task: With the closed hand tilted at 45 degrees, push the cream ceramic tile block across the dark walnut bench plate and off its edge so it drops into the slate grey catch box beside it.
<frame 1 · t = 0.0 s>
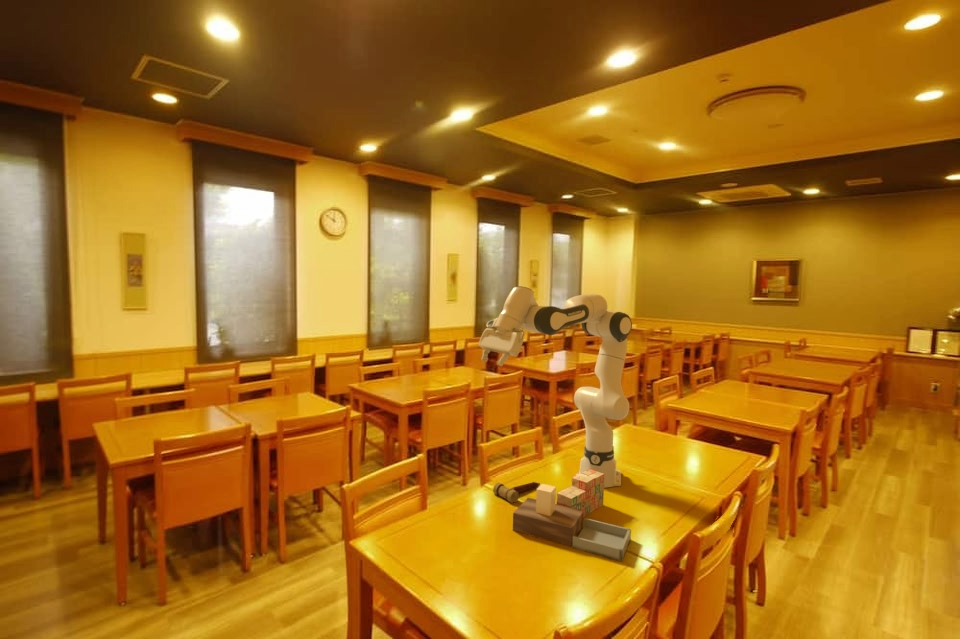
hand: (491, 363, 162), 54 cm above the table, tool tilted 30°, fingers open, 8 cm apart
catch box: (602, 543, 148), on the table
tile block: (545, 511, 157), point 6 cm above the table, touching bench plate
stack of blocks: (580, 512, 170), on the table
bench plate: (548, 529, 157), on the table
gavel: (521, 493, 185), on the table
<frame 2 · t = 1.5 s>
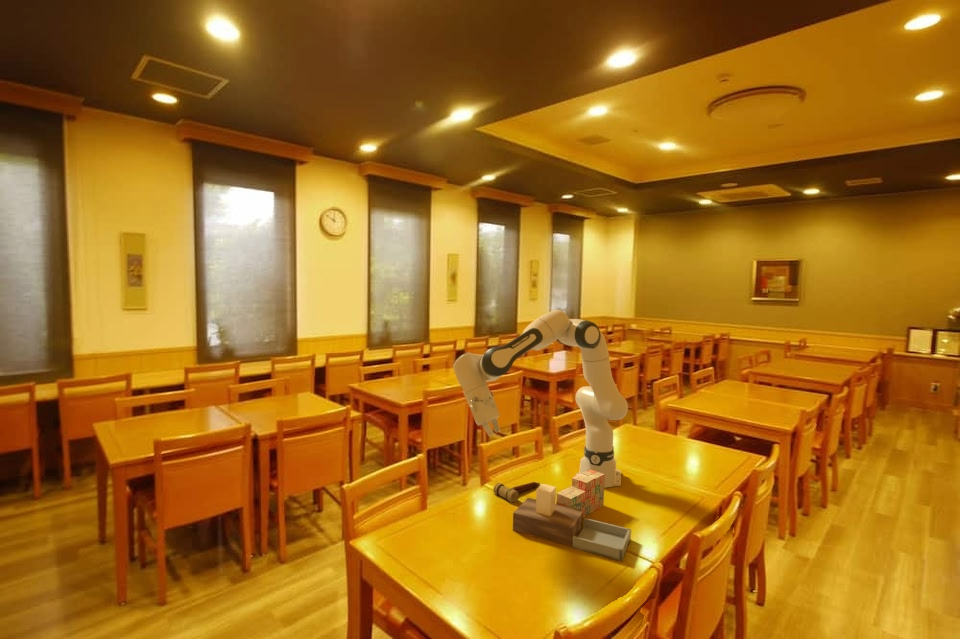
hand: (494, 433, 163), 30 cm above the table, tool tilted 30°, fingers open, 8 cm apart
nothing on the table moved.
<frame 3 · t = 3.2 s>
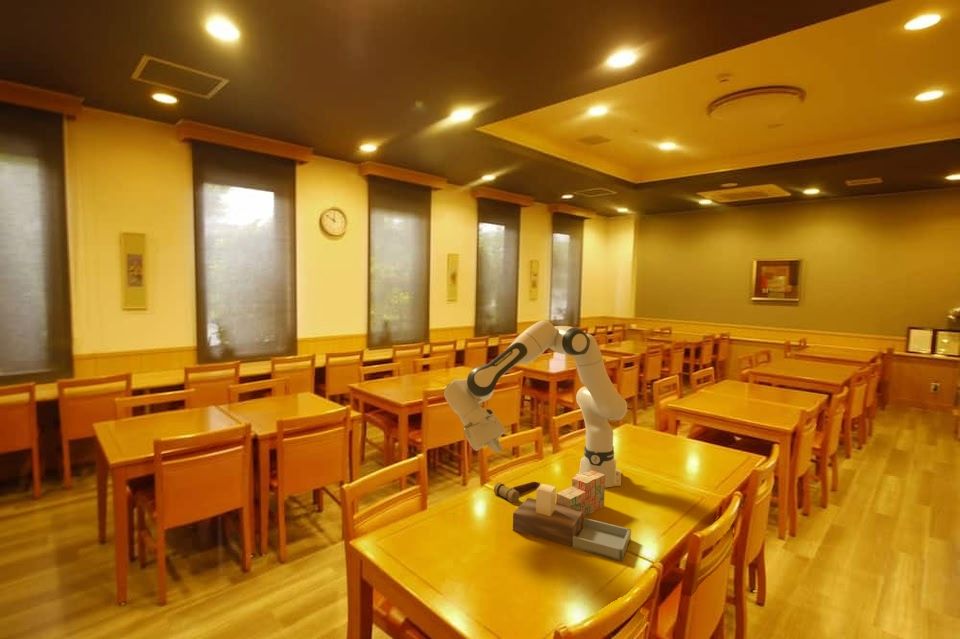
hand: (499, 451, 164), 23 cm above the table, tool tilted 45°, fingers closed
nothing on the table moved.
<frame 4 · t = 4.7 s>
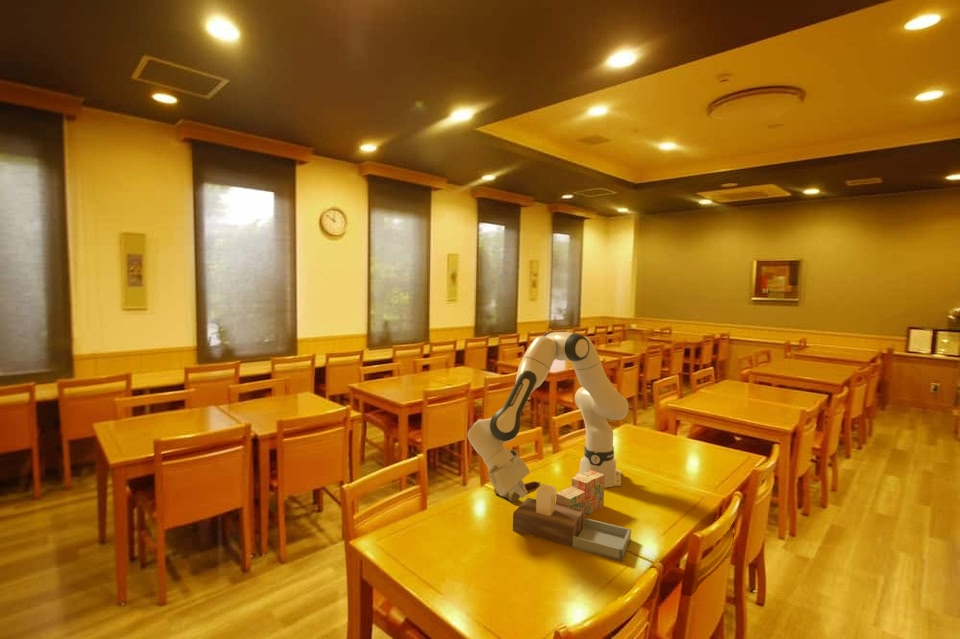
hand: (525, 495, 160), 10 cm above the table, tool tilted 45°, fingers closed
nothing on the table moved.
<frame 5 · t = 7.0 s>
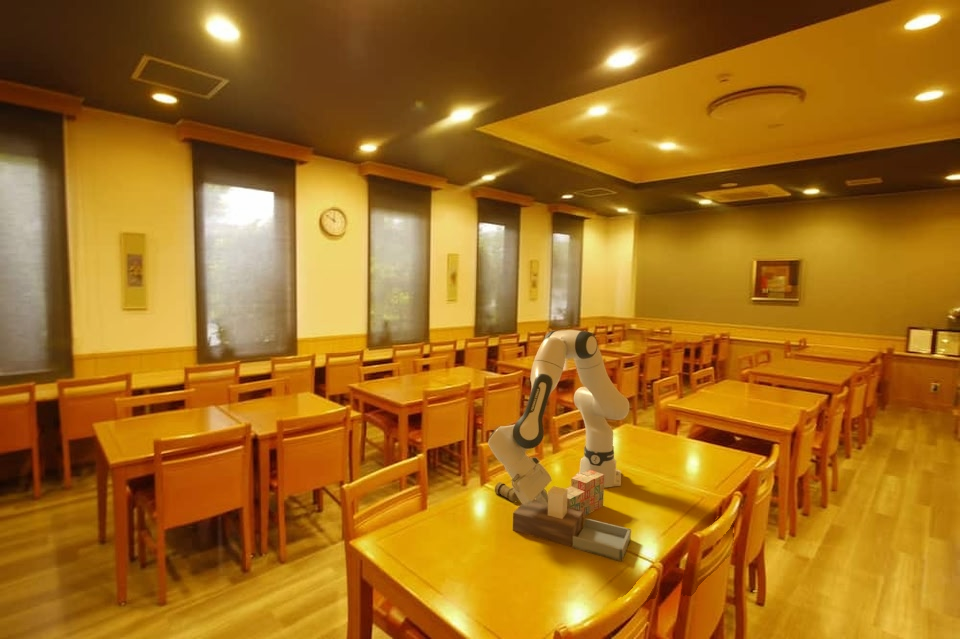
hand: (548, 504, 156), 8 cm above the table, tool tilted 45°, fingers closed, pressing on tile block
tile block: (557, 514, 155), point 6 cm above the table, touching gripper
everything else where it was.
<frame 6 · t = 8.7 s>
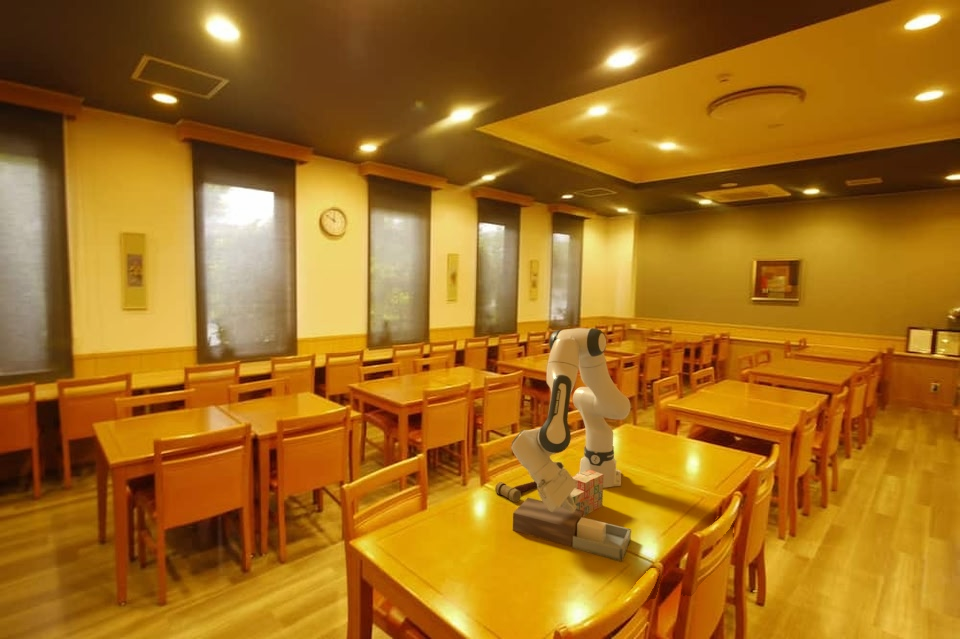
hand: (574, 510, 152), 9 cm above the table, tool tilted 45°, fingers closed
tile block: (579, 527, 152), point 3 cm above the table, tilted 90°, touching catch box
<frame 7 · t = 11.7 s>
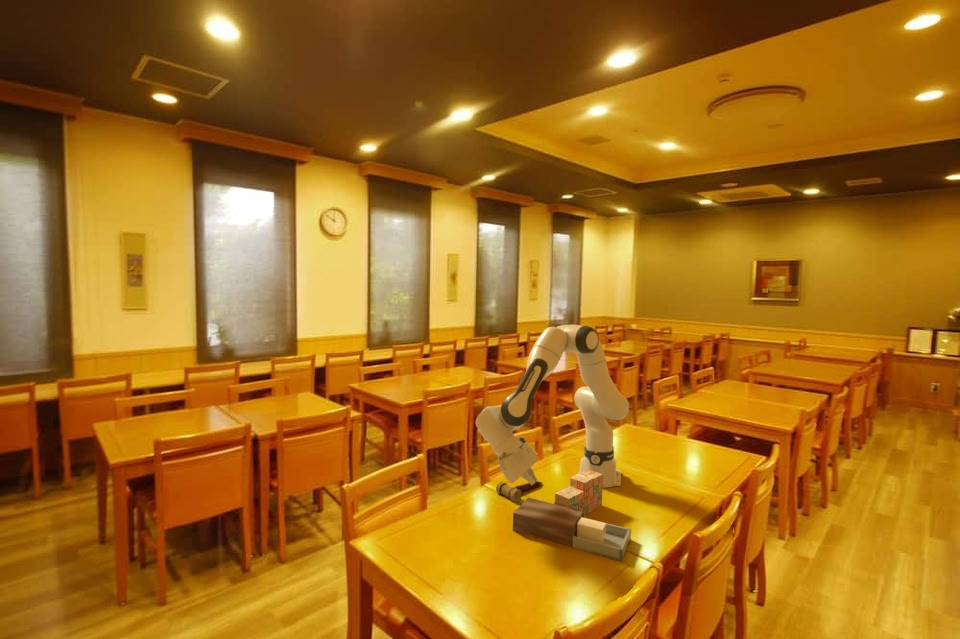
hand: (534, 482, 158), 15 cm above the table, tool tilted 45°, fingers closed
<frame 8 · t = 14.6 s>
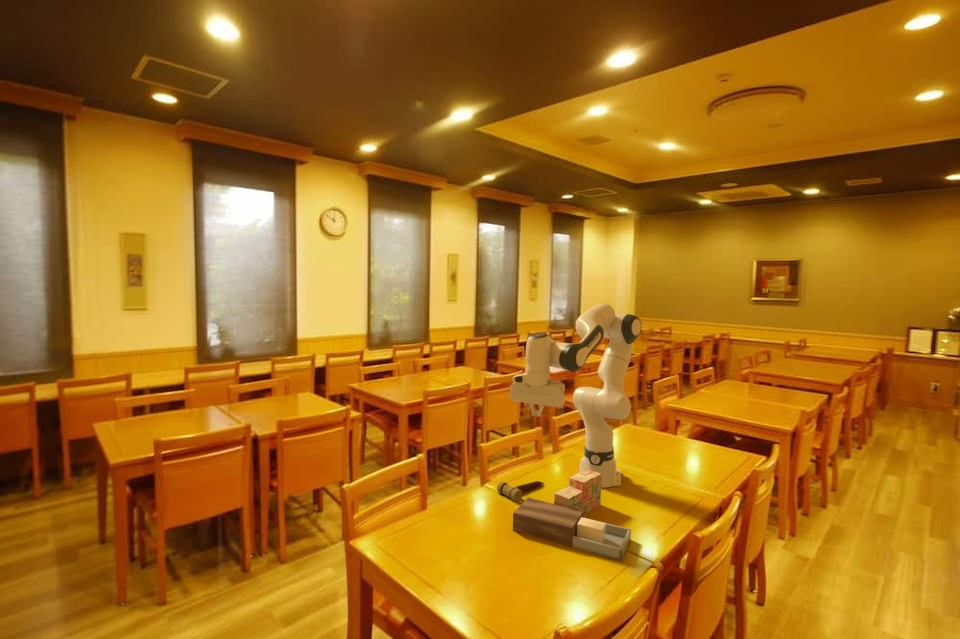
hand: (536, 415, 171), 34 cm above the table, tool pointing down, fingers closed
at the end: tile block inside the target area on the catch box (6.7 cm from its centre), point 3.3 cm above the catch box's base; tile block point 3.3 cm above the table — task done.
